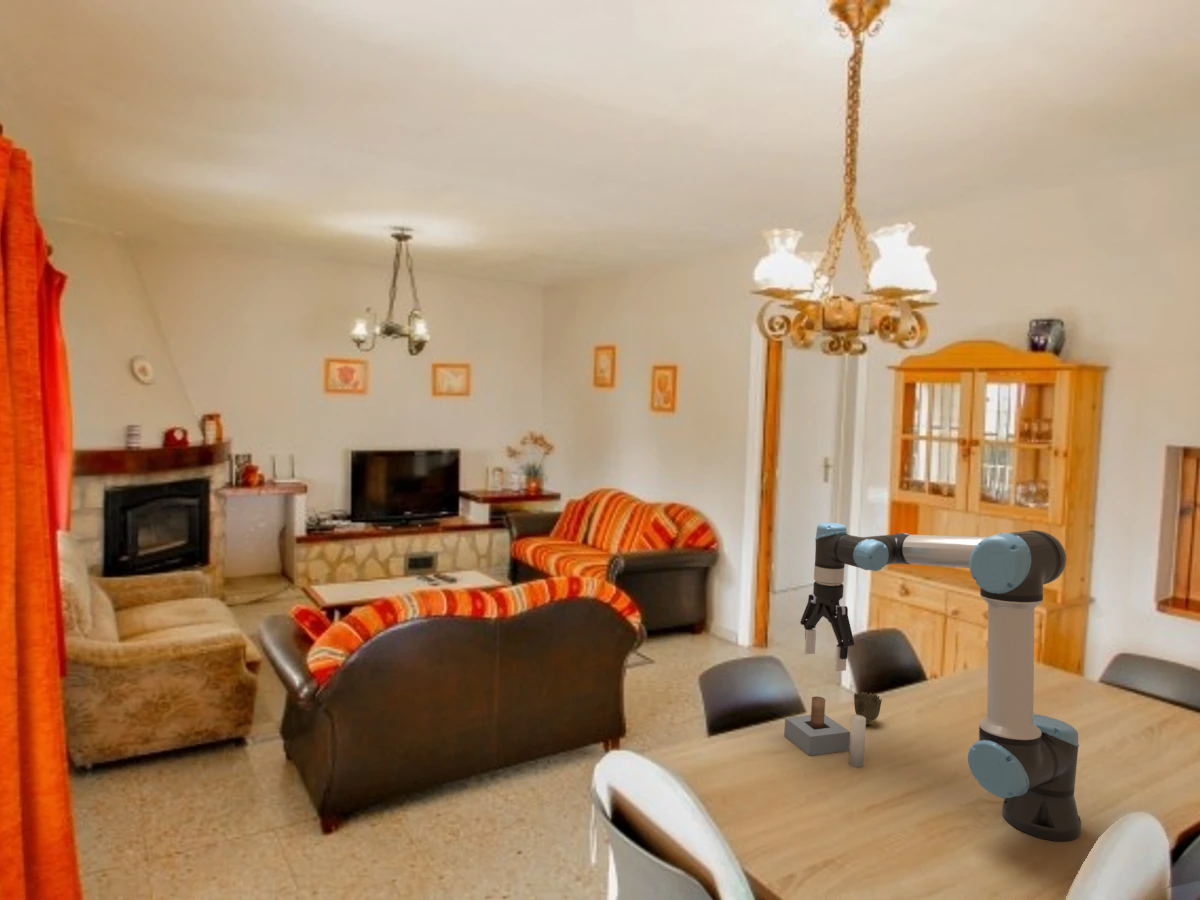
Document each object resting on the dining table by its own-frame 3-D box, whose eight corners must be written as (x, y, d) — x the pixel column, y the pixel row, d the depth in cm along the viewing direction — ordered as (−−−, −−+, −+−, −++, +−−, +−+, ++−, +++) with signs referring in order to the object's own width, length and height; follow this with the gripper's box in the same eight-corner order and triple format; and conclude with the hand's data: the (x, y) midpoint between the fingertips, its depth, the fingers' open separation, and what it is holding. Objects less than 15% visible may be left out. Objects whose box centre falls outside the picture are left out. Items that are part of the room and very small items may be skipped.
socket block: (849, 750, 207) (850, 731, 207) (809, 755, 203) (810, 736, 203) (822, 731, 219) (823, 713, 218) (784, 735, 215) (785, 717, 214)
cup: (883, 730, 220) (885, 702, 220) (857, 729, 221) (858, 701, 220) (875, 719, 228) (876, 692, 227) (849, 718, 228) (850, 690, 227)
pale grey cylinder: (866, 766, 199) (868, 719, 198) (854, 767, 198) (857, 721, 197) (857, 760, 202) (860, 714, 201) (846, 761, 201) (848, 715, 200)
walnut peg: (825, 745, 210) (827, 700, 209) (814, 746, 209) (816, 702, 208) (818, 739, 213) (820, 695, 212) (807, 740, 212) (809, 697, 211)
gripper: (871, 593, 197) (867, 676, 199) (813, 571, 221) (809, 645, 223) (846, 594, 195) (841, 679, 197) (789, 572, 219) (786, 648, 220)
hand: (824, 661), depth 210 cm, fingers open, 13 cm apart
